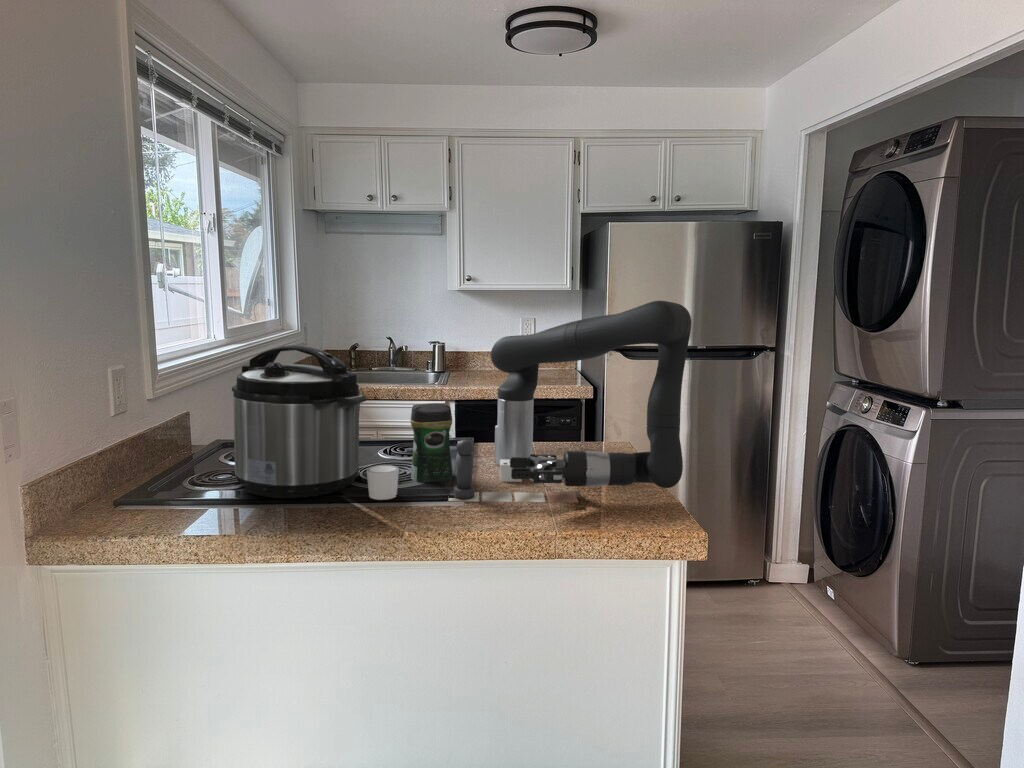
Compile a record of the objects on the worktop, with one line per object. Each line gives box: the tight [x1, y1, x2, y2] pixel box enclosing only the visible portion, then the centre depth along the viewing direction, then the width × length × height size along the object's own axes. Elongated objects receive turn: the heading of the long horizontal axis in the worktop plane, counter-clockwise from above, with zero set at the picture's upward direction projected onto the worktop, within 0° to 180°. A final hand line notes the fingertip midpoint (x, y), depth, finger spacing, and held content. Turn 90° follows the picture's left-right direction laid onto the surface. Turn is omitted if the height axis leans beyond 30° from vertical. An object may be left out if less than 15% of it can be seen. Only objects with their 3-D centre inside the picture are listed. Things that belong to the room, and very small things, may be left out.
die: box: [499, 459, 523, 483], centre depth 162 cm, size 5×5×5 cm
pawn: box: [453, 439, 476, 500], centre depth 147 cm, size 4×4×12 cm
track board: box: [447, 490, 587, 511], centre depth 148 cm, size 30×10×1 cm, turn 92°
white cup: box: [366, 464, 400, 501], centre depth 147 cm, size 7×7×7 cm
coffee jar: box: [409, 402, 454, 483], centre depth 161 cm, size 10×8×19 cm
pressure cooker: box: [231, 345, 367, 499], centre depth 156 cm, size 30×28×32 cm
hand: (510, 467), depth 147 cm, fingers open, 8 cm apart
